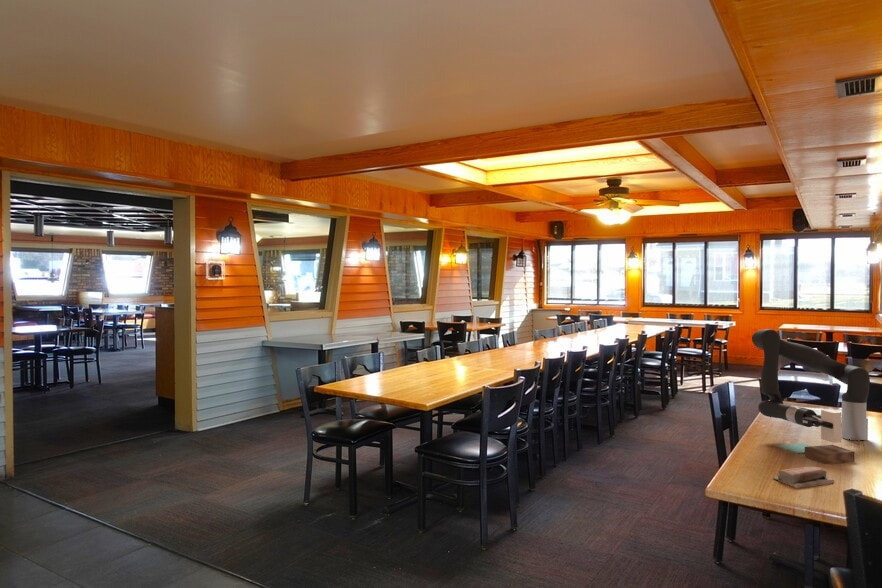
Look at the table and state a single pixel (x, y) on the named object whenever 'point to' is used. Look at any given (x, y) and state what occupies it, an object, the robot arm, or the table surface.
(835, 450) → the block
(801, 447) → the mat
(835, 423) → the beige rectangular block
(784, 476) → the packaged product
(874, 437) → the table surface
